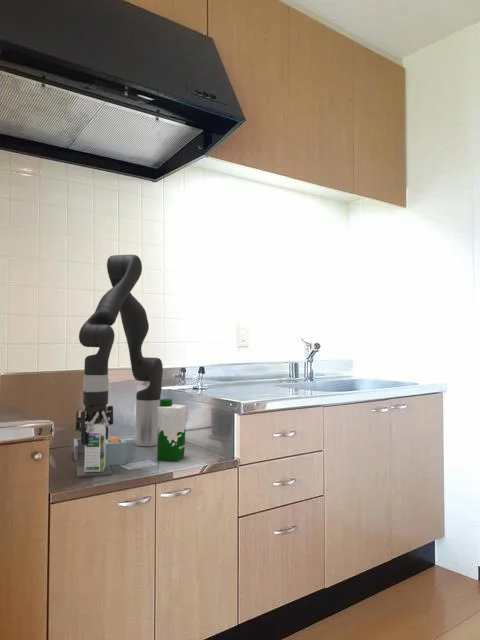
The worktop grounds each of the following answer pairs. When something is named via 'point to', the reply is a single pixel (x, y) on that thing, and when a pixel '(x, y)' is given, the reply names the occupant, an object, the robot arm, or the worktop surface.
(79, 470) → the mat
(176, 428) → the milk carton
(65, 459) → the worktop surface
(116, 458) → the grey square socket
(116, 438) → the plunger
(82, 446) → the grey u-shaped frame
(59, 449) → the worktop surface
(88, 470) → the syrup box
